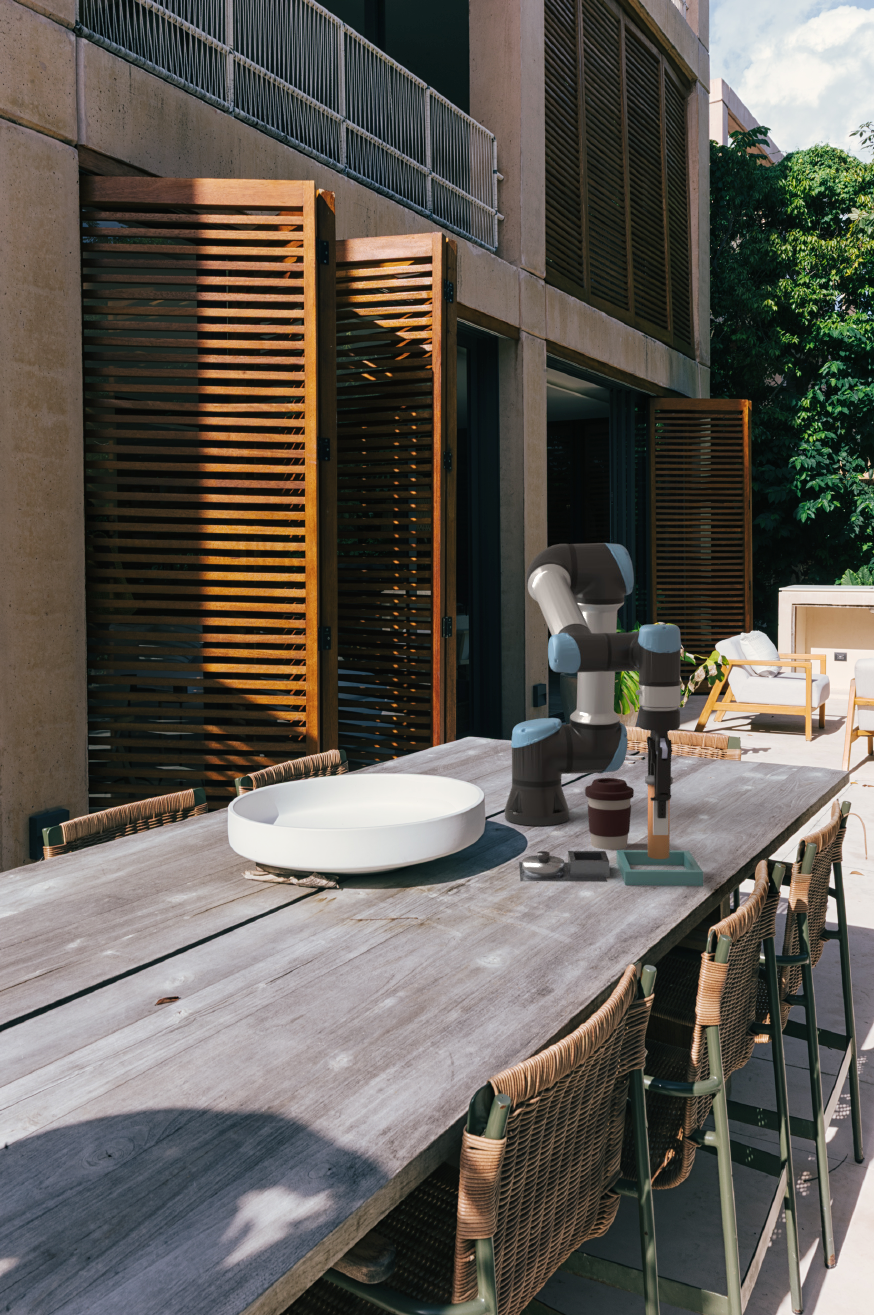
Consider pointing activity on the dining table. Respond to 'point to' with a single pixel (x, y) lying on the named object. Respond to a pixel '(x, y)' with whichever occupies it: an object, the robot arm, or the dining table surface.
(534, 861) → the silver rectangular stand
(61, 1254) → the dining table surface
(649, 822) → the pin
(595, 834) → the coffee cup
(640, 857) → the tray
